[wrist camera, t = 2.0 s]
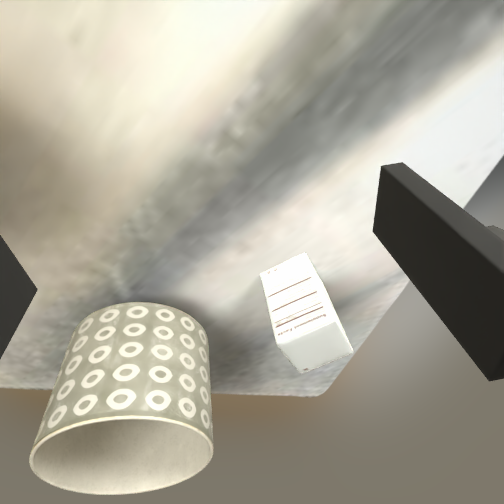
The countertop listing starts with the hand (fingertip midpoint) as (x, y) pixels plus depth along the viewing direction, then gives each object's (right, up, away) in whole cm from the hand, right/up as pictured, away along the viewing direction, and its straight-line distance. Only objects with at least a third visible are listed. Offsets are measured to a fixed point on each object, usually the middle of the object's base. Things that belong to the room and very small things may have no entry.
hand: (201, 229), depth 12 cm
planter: (-15, -13, +39) cm, 44 cm away
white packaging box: (+8, -4, +37) cm, 38 cm away
